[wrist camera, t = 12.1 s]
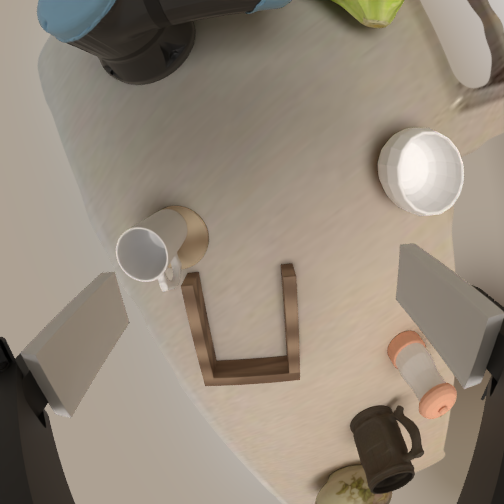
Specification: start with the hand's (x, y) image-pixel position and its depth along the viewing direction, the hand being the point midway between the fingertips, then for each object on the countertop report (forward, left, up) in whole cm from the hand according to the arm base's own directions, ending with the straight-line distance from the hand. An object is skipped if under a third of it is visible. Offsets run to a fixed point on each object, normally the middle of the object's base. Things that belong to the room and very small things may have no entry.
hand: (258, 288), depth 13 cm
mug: (+6, -14, -32) cm, 36 cm away
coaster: (+6, -13, -33) cm, 36 cm away
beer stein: (+52, +23, -33) cm, 66 cm away
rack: (+21, -4, -33) cm, 39 cm away
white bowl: (-2, +23, -33) cm, 40 cm away
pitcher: (+83, +20, -33) cm, 91 cm away
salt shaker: (+32, +26, -33) cm, 53 cm away
